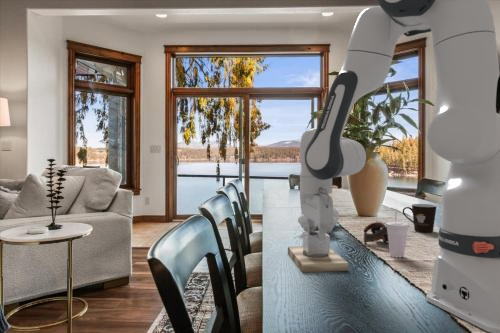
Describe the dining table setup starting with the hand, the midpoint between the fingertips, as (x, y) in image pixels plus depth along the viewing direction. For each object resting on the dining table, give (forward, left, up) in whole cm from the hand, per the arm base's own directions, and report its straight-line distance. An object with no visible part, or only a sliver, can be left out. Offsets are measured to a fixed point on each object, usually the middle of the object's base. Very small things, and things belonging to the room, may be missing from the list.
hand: (316, 236), depth 102 cm
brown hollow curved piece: (+18, -26, -7) cm, 33 cm away
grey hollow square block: (0, 0, -4) cm, 4 cm away
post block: (0, 0, -7) cm, 7 cm away
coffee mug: (+35, -52, -7) cm, 63 cm away
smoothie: (+2, -25, -7) cm, 26 cm away
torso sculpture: (+40, -12, -8) cm, 43 cm away
